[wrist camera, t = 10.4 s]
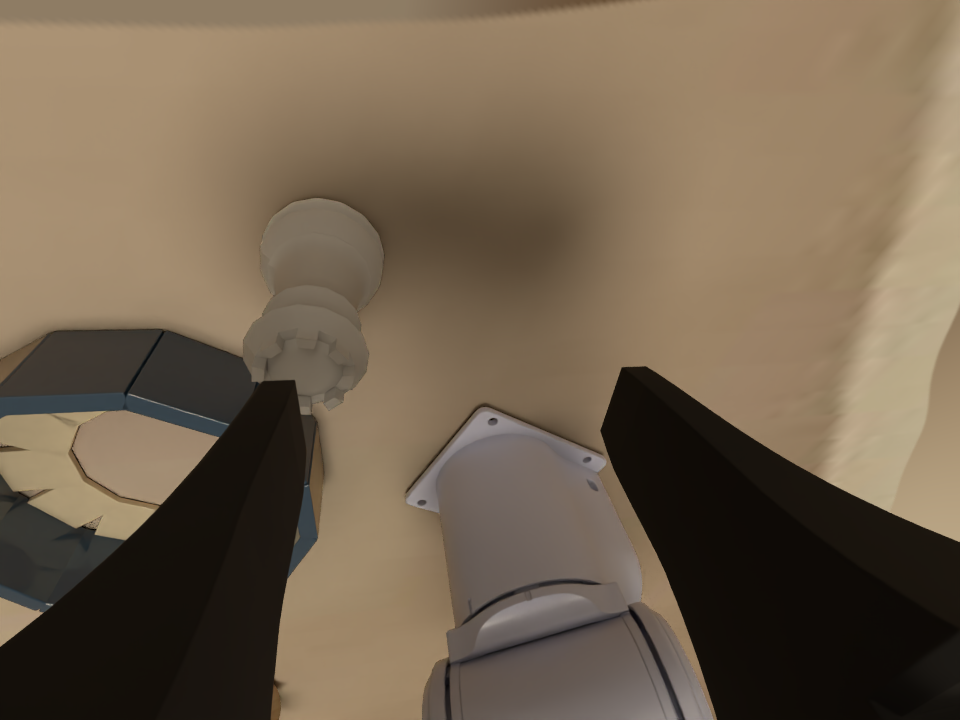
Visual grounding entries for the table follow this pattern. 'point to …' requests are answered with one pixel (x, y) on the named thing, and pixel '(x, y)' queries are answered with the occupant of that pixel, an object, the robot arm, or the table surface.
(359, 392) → the table surface
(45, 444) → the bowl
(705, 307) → the table surface
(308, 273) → the rook chess piece
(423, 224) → the table surface
